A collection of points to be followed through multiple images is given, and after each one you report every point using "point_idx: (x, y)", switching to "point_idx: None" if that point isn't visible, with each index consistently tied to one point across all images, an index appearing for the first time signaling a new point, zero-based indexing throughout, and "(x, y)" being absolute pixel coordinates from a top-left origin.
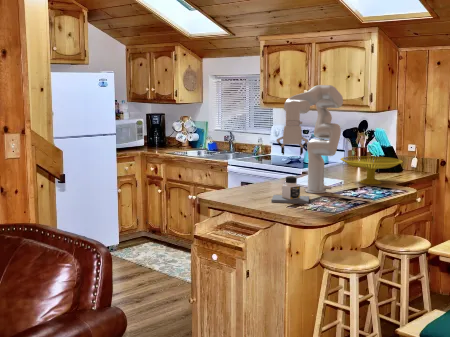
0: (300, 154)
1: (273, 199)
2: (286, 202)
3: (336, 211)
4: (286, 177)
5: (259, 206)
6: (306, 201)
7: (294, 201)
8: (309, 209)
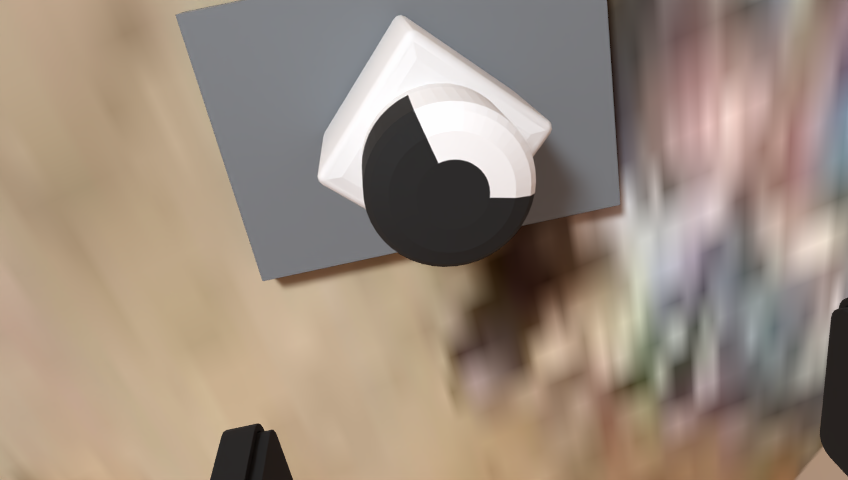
0: (842, 461)
1: (278, 267)
2: None
3: None
4: (383, 234)
5: None
6: (600, 206)
7: None
8: (639, 385)
